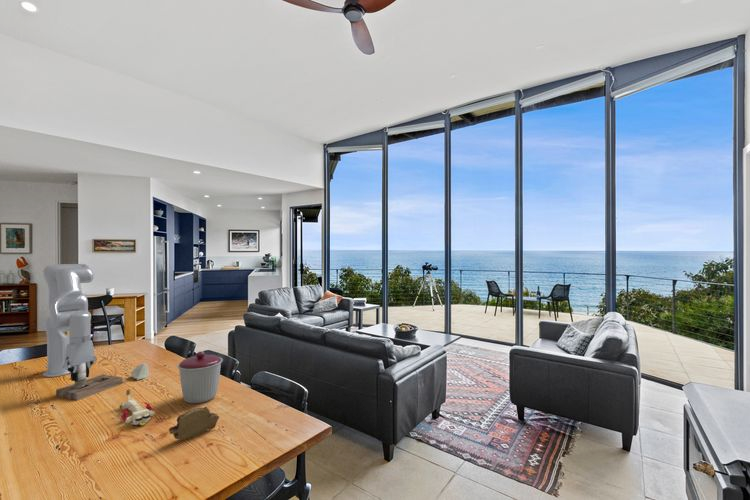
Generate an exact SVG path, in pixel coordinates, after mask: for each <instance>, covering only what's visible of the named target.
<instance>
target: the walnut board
mask: <svg viewBox="0 0 750 500" xmlns="http://www.w3.org/2000/svg"><path fill="white" fill-rule="evenodd" d="M122 384H123V377H121V376H116V375H115V376H114V375H111V374H110V375H109V374H99V375H96V376H93V377H91V378H86V384H85V386H84V387H81V388H76V386H75V383H72V384H70V385H66V386H63V387H60V388H57V389H55V396H56V397H58V398H64V399H68V400H71V401H72V400H73V401H79V400H82V399H84V398H85V399H86V398H87V397H90V396H92V395H95V394H98V393H101V392H104V391H106V390H110V389H112V388H113V387H114V388H115V387H117V386H119V385H122Z"/></svg>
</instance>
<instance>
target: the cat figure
mask: <svg viewBox="0 0 750 500" xmlns="http://www.w3.org/2000/svg"><path fill="white" fill-rule="evenodd" d="M125 395H126V399H127V400H126V401H121V402H120V405H119V406H118V407H119V409H122V410H123V411H122V415H121V416H120V419H122V420H123V421H125V424H126V423H127V424H129V425H130V426H132V425H135V426H137V425H140V426H145V425H146V423H148V422H149V421H150V420H151V416H154V415H155V414H156V412H155V411H153V407H152V406H151V404H150V403H148V402H145V401H142V403H141V404H144V405H146V406H145V408H143V407H142V406H141V405H140V403H138V401H137V400H135V398H131V389H126V394H125ZM128 410H129V411H130V412H131V413H132V414H131V416H128V417H127V415H128V414H129V412H128Z"/></svg>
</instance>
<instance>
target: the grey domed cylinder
mask: <svg viewBox="0 0 750 500" xmlns="http://www.w3.org/2000/svg"><path fill="white" fill-rule="evenodd" d="M76 372H78V380H77V381H74V384H75V386H76V388H81V387H84V386H85V384H86V380H87V377H86V363H84V362H83V363H82V364H80V365H77V370H76Z"/></svg>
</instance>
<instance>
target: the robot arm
mask: <svg viewBox="0 0 750 500" xmlns="http://www.w3.org/2000/svg"><path fill="white" fill-rule="evenodd" d="M42 272H43V277H44V280H45V282H46V284H47V287H48V309H49V317H47V318H46V319H45V321H44V328H45V329H44V330H45V334H46V347H47V348H46V352H47V353H46V355H47V356H46V358H47V359H46V360H47V361H46V362H47V365H46V366H45V367H44V368H45V369H47V370H46V371H45V372H44V373H42V374H43V375H42V376H43V377H45V378H54V377H60V376H65V375H69V374H70V379H71V381H72V382H75V381H77V380H78V372H76V370H77V365H80V364H82V363H83V362H84V363H86V378H89V377H90V369H91V368H92V366H93V364H94V363H95V362H96V361H97V360H98V358H97V357H96V356H95V349H94V344H93V340H92V338H93V337H94V335H93V334H91V332H92V331H91V321H92V314H91V312H89V301H88V296H87V295H86V293H85V294H84V293H83V290H82V289H83V288H82V286H81V284H86V283H87V284H88V283H92V282H93V280H94V275H95V274H94V271H93V269H92V268H91V267H90V266H89V265H87V264H85V263H65V264H64V263H60V264H58V263H57V264H51V265H50V264H49V265H46V266H45V267H44V268H43V270H42ZM67 332H68V334H66V333H67Z"/></svg>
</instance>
